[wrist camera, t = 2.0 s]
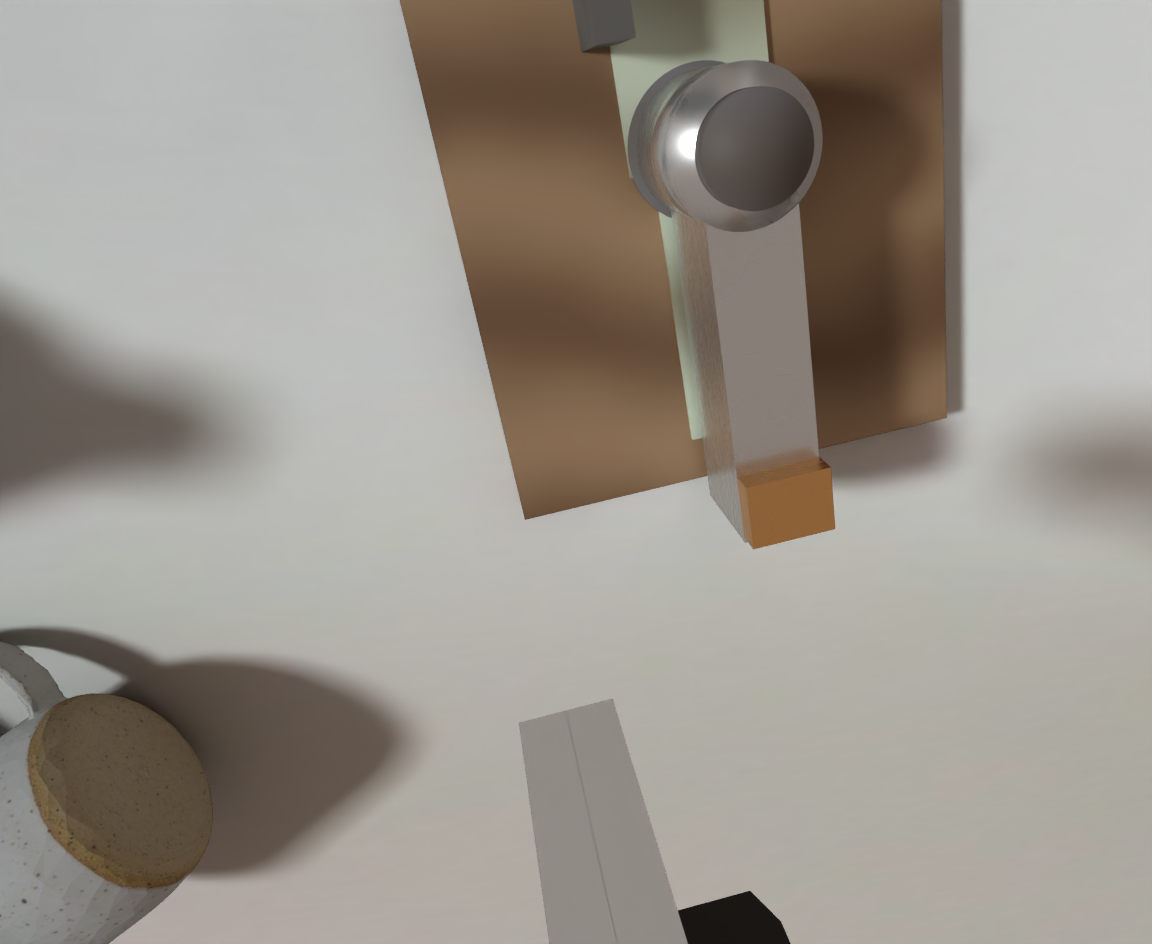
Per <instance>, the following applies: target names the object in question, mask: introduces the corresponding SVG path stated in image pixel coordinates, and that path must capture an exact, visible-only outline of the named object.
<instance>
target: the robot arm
mask: <svg viewBox="0 0 1152 944" xmlns="http://www.w3.org/2000/svg"><path fill="white" fill-rule="evenodd" d="M519 728H520V735H521V742H522V750H523V757H524V764H525V771H526V779H527V786H528V793H529V800H530V807H531V815H532V822H533V829H534V836H535V844H536V851H537V858H538V865H539V873H540V880H541V887H542V894H543V902H544V909H545V916H546V923H547V931H548V938H549V944H790V942H789V939H788V937H787V935H786V932H785V930H784V928H783V925H782V923H781V921H780V920H779V919H778V918H777V917H776V916H775V915H774V914H773V913H772V912H771V911H770V910H769V909H768V908H767V907H766V906H765V905H764V904H763V903H762V902H761V901H760V900H759V899H758V898H757V897H756V896H755V895H754V894H753V893H752V892H751V891H748V892H744V893H740V894H737V895H733V896H729V897H726V898H722V899H719V900H715V901H711V902H708V903H704V904H700V905H697V906H693V907H689V908H686V909H682V910H679V911H678V910H677V907H676V904H675V900H674V897H673V894H672V891H671V887H670V884H669V881H668V878H667V874H666V871H665V868H664V865H663V861H662V858H661V855H660V852H659V848H658V845H657V842H656V839H655V835H654V832H653V829H652V826H651V822H650V819H649V816H648V812H647V809H646V806H645V803H644V799H643V796H642V793H641V790H640V786H639V783H638V780H637V777H636V773H635V770H634V767H633V764H632V760H631V757H630V754H629V751H628V747H627V744H626V741H625V738H624V734H623V731H622V728H621V725H620V721H619V718H618V715H617V712H616V708H615V705H614V702H613V699H609V700H605V701H602V702H598V703H594V704H590V705H586V706H582V707H578V708H574V709H570V710H567V711H563V712H559V713H555V714H551V715H547V716H543V717H539V718H535V719H532V720H528V721H524V722H520V723H519Z"/></svg>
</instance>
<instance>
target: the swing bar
mask: <svg viewBox="0 0 1152 944" xmlns="http://www.w3.org/2000/svg"><path fill="white" fill-rule="evenodd" d="M757 86H769V87H775V88H778V89H781V90H783V91H785V92H787V93H789V94H790V95H792V96H793V97H795V98H796V99H797V100H798V101H799V102H800V104H801V105H802V106H803V107H804V109H805V110H806V112H807V114H808V116H809V118H810V121H811V124H812V128H813V133H814V154H813V159H812V163H811V166H810V169H809V171H808V173H807V176H806V178H805V179H804V181H803V182H802V184H801V185H800V187H799V188H798V189H797V190H796V191H795V192H794V193H793V194H792V195H791V196H790V197H789V198H788V199H787V200H785V201H784V202H782V203H781V204H779V205H777V206H775V207H772V208H770V209H766V210H762V211H744V210H740V209H737V208H733V207H730V206H727V205H725V204H723V203H721V202H719V201H718V200H716V199H715V198H714V197H713V196H712V195H711V194H710V193H709V192H708V191H707V190H706V188H705V187H704V185H703V184H702V182H701V180H700V178H699V175H698V172H697V169H696V164H695V143H696V137H697V134H698V130H699V128H700V125H701V123H702V121H703V119H704V118H705V116H706V114H707V113H708V112H709V110H710V109H711V108H712V107H713V106H714V105H715V104H716V103H717V102H718V101H719V100H720V99H721V98H723V97H724V96H726V95H727V94H729V93H731V92H733V91H736V90H739V89H742V88H748V87H757ZM822 144H823V140H822V125H821V119H820V115H819V112H818V109H817V106H816V104H815V101H814V99H813V98H812V96H811V94H810V92H809V91H808V89H807V88H806V87H805V86H804V84H803V83H802V82H801V81H800V80H799V79H798V78H797V77H796V76H795V75H793V74H792V73H791V72H789V71H788V70H786V69H784V68H782V67H780V66H779V65H776V64H773V63H770V62H766V61H760V60H744V61H736V62H731V63H726V64H720V65H715V66H709V67H704V68H699V69H694V70H691V71H687V72H685V73H683V74H680V75H678V76H677V77H675V78H673V79H672V80H670V81H669V82H668V83H666V84H665V85H664V86H663V87H662V88H661V89H660V90H659V91H658V92H657V93H656V94H655V96H654V97H653V98H652V100H651V101H650V103H649V104H648V106H647V108H646V110H645V112H644V114H643V117H642V119H641V122H640V126H639V130H638V136H637V160H638V164H639V169H640V172H641V175H642V178H643V180H644V182H645V184H646V186H647V187H648V189H649V190H650V192H651V193H652V194H653V195H654V197H655V198H656V199H657V200H658V201H659V202H660V203H662V204H663V205H664V206H665V207H667V208H669V209H670V210H671V216H672V223H673V230H674V238H675V245H676V252H677V259H678V266H679V273H680V281H681V288H682V295H683V302H684V309H685V317H686V324H687V331H688V338H689V345H690V353H691V360H692V367H693V374H694V381H695V389H696V396H697V403H698V410H699V417H700V424H701V432H702V439H703V446H704V453H705V460H706V468H707V475H708V482H709V489H710V496H711V497H712V498H713V500H714V501H715V502H716V504H717V505H718V507H719V508H720V509H721V511H722V512H723V513H724V515H725V516H726V517H727V519H728V520H729V522H730V523H731V524H732V526H733V527H734V528H735V530H736V531H737V533H738V534H739V535H740V537H741V538H742V539H743V541H744V542H745V543H746V542H748V543H749V544H750V545H751V547H752V548H753V549H756V548H760V547H764V546H769V545H773V544H777V543H781V542H785V541H789V540H793V539H797V538H801V537H805V536H809V535H813V534H817V533H821V532H825V531H829V530H833V529H835V518H834V505H833V491H832V477H831V467H830V466H829V465H827V464H826V463H825V462H824V461H823V460H822V459H821V458H820V457H819V450H818V437H817V424H816V412H815V399H814V387H813V374H812V361H811V349H810V336H809V324H808V311H807V298H806V286H805V273H804V261H803V248H802V235H801V223H800V210H799V202H800V201H801V199H802V198H803V197H804V196H805V194H806V192H807V191H808V189H809V188H810V186H811V184H812V182H813V180H814V178H815V175H816V172H817V170H818V167H819V163H820V158H821V153H822Z"/></svg>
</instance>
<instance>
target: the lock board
mask: <svg viewBox="0 0 1152 944" xmlns="http://www.w3.org/2000/svg"><path fill="white" fill-rule="evenodd" d="M400 3H401V7H402V12H403V16H404V20H405V24H406V28H407V32H408V36H409V41H410V45H411V49H412V53H413V57H414V61H415V65H416V70H417V74H418V78H419V82H420V86H421V90H422V94H423V99H424V103H425V107H426V111H427V115H428V119H429V123H430V128H431V132H432V136H433V140H434V144H435V148H436V152H437V157H438V161H439V165H440V169H441V173H442V177H443V181H444V186H445V190H446V194H447V198H448V202H449V206H450V210H451V215H452V219H453V223H454V227H455V231H456V235H457V239H458V244H459V248H460V252H461V256H462V260H463V264H464V268H465V273H466V277H467V281H468V285H469V289H470V293H471V297H472V302H473V306H474V310H475V314H476V318H477V322H478V326H479V331H480V335H481V339H482V343H483V347H484V351H485V355H486V360H487V364H488V368H489V372H490V376H491V380H492V384H493V389H494V393H495V397H496V401H497V405H498V409H499V413H500V418H501V422H502V426H503V430H504V434H505V438H506V442H507V447H508V451H509V455H510V459H511V463H512V467H513V472H514V476H515V480H516V484H517V488H518V492H519V496H520V501H521V505H522V509H523V513H524V517H525V520H526V519H530V518H534V517H538V516H543V515H547V514H551V513H555V512H559V511H563V510H567V509H572V508H576V507H580V506H584V505H588V504H592V503H596V502H601V501H605V500H609V499H613V498H617V497H621V496H625V495H630V494H634V493H638V492H642V491H646V490H650V489H654V488H659V487H663V486H667V485H671V484H675V483H679V482H683V481H688V480H692V479H696V478H700V477H704V476H708V475H707V468H706V460H705V453H704V446H703V439H702V432H701V424H700V417H699V410H698V403H697V396H696V389H695V381H694V374H693V367H692V360H691V353H690V345H689V338H688V331H687V324H686V317H685V309H684V302H683V295H682V288H681V281H680V273H679V266H678V259H677V252H676V245H675V238H674V230H673V223H672V216H671V210H670V209H669V208H667V207H665V206H664V205H663V204H662V203H660V202H659V201H658V200H657V199H656V198H655V197H654V195H653V194H652V193H651V192H650V190H649V189H648V187H647V186H646V184H645V182H644V180H643V178H642V175H641V172H640V169H639V164H638V160H637V136H638V130H639V126H640V122H641V119H642V117H643V114H644V112H645V110H646V108H647V106H648V104H649V103H650V101H651V100H652V98H653V97H654V96H655V94H656V93H657V92H658V91H659V90H660V89H661V88H662V87H663V86H664V85H665V84H666V83H668V82H669V81H670V80H672V79H673V78H675V77H677V76H678V75H680V74H683V73H685V72H687V71H691V70H694V69H699V68H704V67H709V66H715V65H720V64H726V63H731V62H736V61H744V60H760V61H766V62H770V63H773V64H776V65H779V66H780V67H782V68H784V69H786V70H788V71H789V72H791V73H792V74H793V75H795V76H796V77H797V78H798V79H799V80H800V81H801V82H802V83H803V84H804V86H805V87H806V88H807V89H808V91H809V92H810V94H811V96H812V98H813V99H814V101H815V104H816V106H817V109H818V112H819V115H820V119H821V125H822V140H823V144H822V153H821V158H820V163H819V167H818V170H817V172H816V175H815V178H814V180H813V182H812V184H811V186H810V188H809V189H808V191H807V192H806V194H805V196H804V197H803V198H802V199H801V201H800V202H799V210H800V223H801V235H802V248H803V261H804V273H805V286H806V298H807V311H808V324H809V336H810V349H811V361H812V374H813V387H814V399H815V412H816V424H817V437H818V449H820V448H824V447H828V446H832V445H837V444H841V443H845V442H849V441H853V440H857V439H861V438H866V437H870V436H874V435H878V434H882V433H886V432H890V431H895V430H899V429H903V428H907V427H911V426H915V425H919V424H924V423H928V422H932V421H936V420H940V419H944V418H947V409H946V327H945V245H944V163H943V81H942V0H400ZM813 154H814V133H813V128H812V124H811V121H810V118H809V116H808V114H807V112H806V110H805V109H804V107H803V106H802V105H801V104H800V102H799V101H798V100H797V99H796V98H795V97H793V96H792V95H790V94H789V93H787V92H785V91H783V90H781V89H778V88H775V87H769V86H757V87H748V88H742V89H739V90H736V91H733V92H731V93H729V94H727V95H726V96H724V97H723V98H721V99H720V100H719V101H718V102H717V103H716V104H715V105H714V106H713V107H712V108H711V109H710V110H709V112H708V113H707V114H706V116H705V118H704V119H703V121H702V123H701V125H700V128H699V130H698V134H697V137H696V143H695V164H696V169H697V172H698V175H699V178H700V180H701V182H702V184H703V185H704V187H705V188H706V190H707V191H708V192H709V193H710V194H711V195H712V196H713V197H714V198H715V199H716V200H718V201H719V202H721V203H723V204H725V205H727V206H730V207H733V208H737V209H740V210H744V211H762V210H766V209H770V208H772V207H775V206H777V205H779V204H781V203H782V202H784V201H785V200H787V199H788V198H789V197H790V196H791V195H792V194H793V193H794V192H795V191H796V190H797V189H798V188H799V187H800V185H801V184H802V182H803V181H804V179H805V178H806V176H807V173H808V171H809V169H810V166H811V163H812V159H813Z"/></svg>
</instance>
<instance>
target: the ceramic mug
mask: <svg viewBox="0 0 1152 944" xmlns="http://www.w3.org/2000/svg"><path fill="white" fill-rule="evenodd" d="M0 677H1V678H2V679H3V680H4V681H5V682H6V683H7V684H8V685H9V686H10V687H11V688H12V689H13V690H14V691H15V692H16V693H17V695H18V698H19V699H20V700H21V701H22V703H23V704H24V705H25V706H26V707H27V709H28V711H29V714H30V715H29V717H28V718H27V719H25V720H24V721H22V722H21V723H20V724H18V725H17V726H15V727H14V728H12V729H11V730H10V731H8V732H7V733H5V734H4V735H2V736H1V737H0V944H109V943H110V942H111V941H113V940H114V939H115V938H116V937H118V936H119V935H120V934H122V933H123V932H124V931H126V930H127V929H128V928H130V927H131V926H132V925H134V924H135V923H136V922H138V921H139V920H140V919H142V918H143V917H144V916H145V915H147V914H148V913H149V912H151V911H152V910H153V909H154V908H155V907H156V906H158V905H159V904H160V903H161V902H162V901H163V900H164V899H166V898H167V897H168V896H169V895H170V894H171V893H172V892H173V891H174V890H175V889H176V888H177V887H178V886H179V884H180V883H181V882H182V881H183V880H184V879H185V878H186V877H187V876H188V875H189V874H190V872H191V871H192V870H193V869H194V868H195V866H196V865H197V863H198V862H199V861H200V859H201V858H202V856H203V854H204V851H205V849H206V847H207V845H208V842H209V838H210V834H211V830H212V820H213V808H212V799H211V794H210V788H209V784H208V781H207V778H206V775H205V772H204V770H203V767H202V765H201V763H200V761H199V759H198V758H197V756H196V754H195V752H194V750H193V749H192V747H191V746H190V745H189V743H188V742H187V741H186V740H185V738H184V737H183V736H182V735H181V734H180V733H179V732H178V731H177V730H176V728H175V727H174V726H173V725H171V724H170V723H169V722H168V721H167V720H166V719H165V718H163V717H162V716H160V715H159V714H157V713H155V712H154V711H152V710H151V709H149V708H147V707H146V706H144V705H143V704H140V703H137V702H135V701H132V700H129V699H126V698H124V697H120V696H115V695H110V694H85V695H79V696H75V697H72V698H69V699H68V698H66V697H64V696H63V693H62V692H61V691H60V690H59V687H58V685H57V684H56V682H55V681H54V679H53V678H52V676H51V675H50V673H49V672H48V670H47V669H45V668H44V667H43V666H41V665H40V664H39V663H37V662H36V661H35V660H34V659H33V658H32V657H31V656H29V655H28V654H26V653H24V651H23V650H21V649H19V648H18V647H15V646H13V645H10V644H8V643H5V642H1V641H0Z"/></svg>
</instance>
